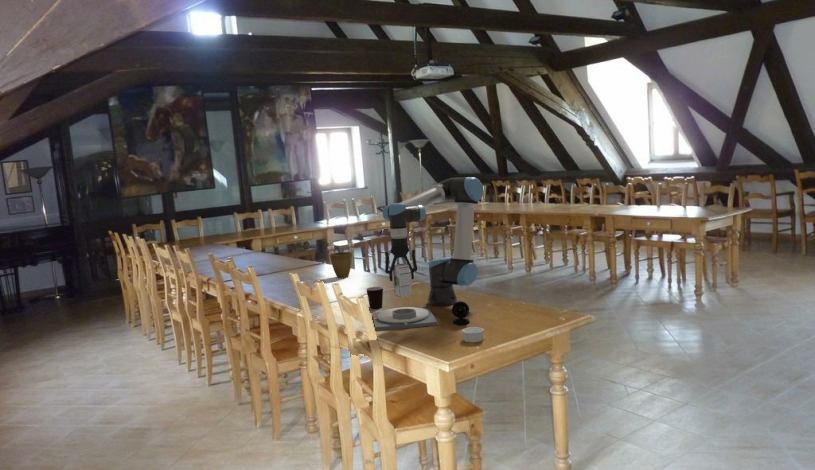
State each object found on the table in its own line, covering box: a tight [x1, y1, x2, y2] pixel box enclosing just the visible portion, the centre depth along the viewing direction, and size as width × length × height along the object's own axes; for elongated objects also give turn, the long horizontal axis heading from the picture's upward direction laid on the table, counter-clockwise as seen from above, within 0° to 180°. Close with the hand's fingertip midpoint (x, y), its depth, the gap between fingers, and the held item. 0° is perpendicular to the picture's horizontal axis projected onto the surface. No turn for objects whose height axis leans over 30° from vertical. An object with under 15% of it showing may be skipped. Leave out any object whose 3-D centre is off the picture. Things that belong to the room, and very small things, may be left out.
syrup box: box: [392, 263, 412, 298], centre depth 287 cm, size 6×6×14 cm
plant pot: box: [329, 251, 353, 279], centre depth 416 cm, size 15×15×16 cm
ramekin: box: [461, 326, 485, 344], centre depth 258 cm, size 9×9×4 cm
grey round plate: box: [378, 306, 429, 323], centre depth 296 cm, size 24×24×4 cm
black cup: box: [366, 286, 384, 310], centre depth 326 cm, size 12×9×10 cm
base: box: [372, 307, 438, 331], centre depth 296 cm, size 28×28×2 cm
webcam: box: [451, 301, 471, 326], centre depth 284 cm, size 8×8×10 cm
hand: (402, 287), depth 288 cm, fingers closed on syrup box, 7 cm apart
